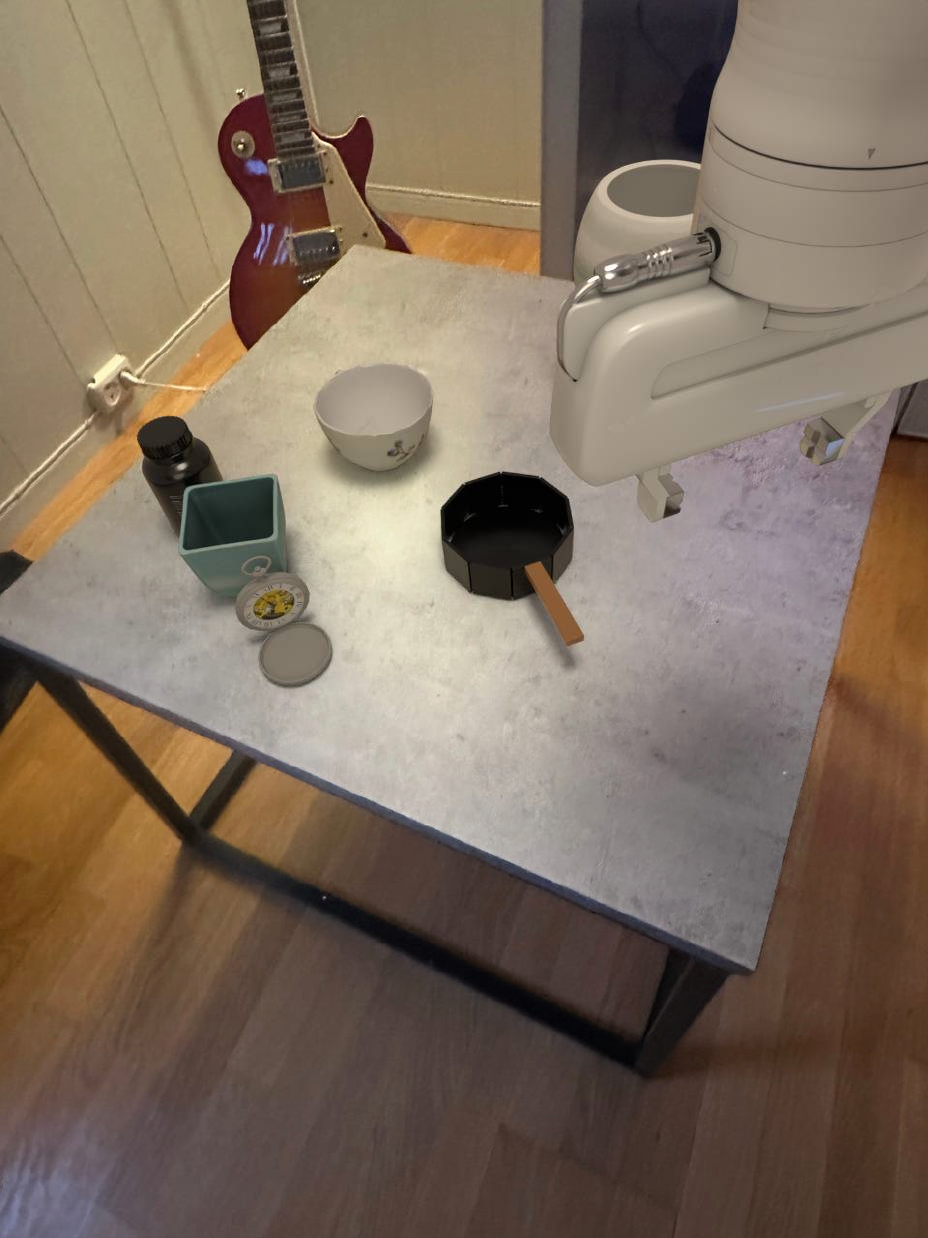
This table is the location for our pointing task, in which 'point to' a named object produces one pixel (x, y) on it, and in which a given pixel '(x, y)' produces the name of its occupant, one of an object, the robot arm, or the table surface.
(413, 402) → the white floral bowl
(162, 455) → the supplement bottle
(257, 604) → the pocket watch
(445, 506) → the saucepan
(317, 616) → the table surface
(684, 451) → the robot arm
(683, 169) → the planter
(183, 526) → the flower pot
